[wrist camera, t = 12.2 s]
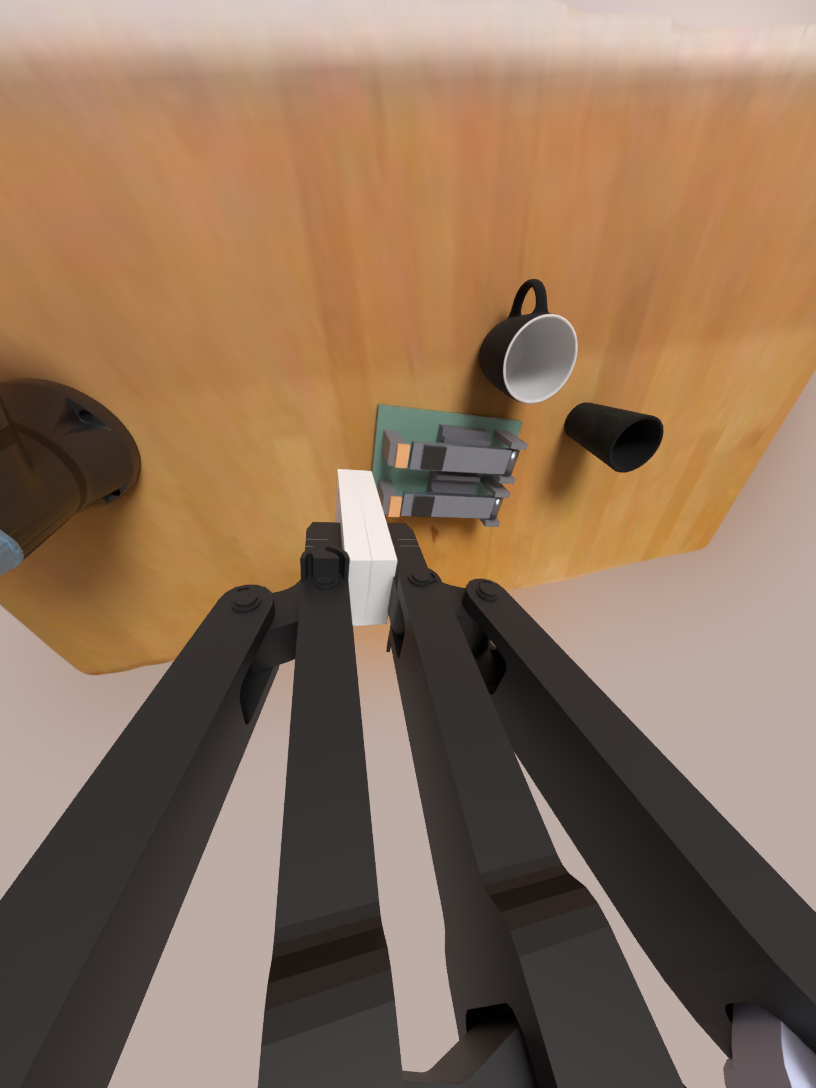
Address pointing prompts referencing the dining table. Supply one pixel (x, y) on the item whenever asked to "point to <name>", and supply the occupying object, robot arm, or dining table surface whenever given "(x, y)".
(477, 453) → the strap near
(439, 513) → the strap far
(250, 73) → the dining table surface
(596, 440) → the cup
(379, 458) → the socket board
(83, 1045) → the robot arm
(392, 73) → the dining table surface
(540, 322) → the mug
